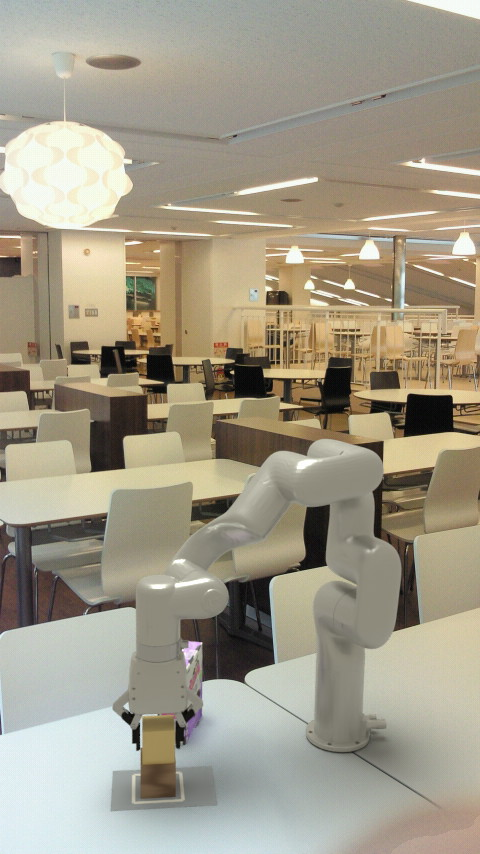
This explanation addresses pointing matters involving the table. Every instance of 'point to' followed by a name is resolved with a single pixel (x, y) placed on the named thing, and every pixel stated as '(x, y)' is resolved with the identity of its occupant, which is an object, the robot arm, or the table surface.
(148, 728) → the ochre block
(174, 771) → the walnut block
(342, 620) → the robot arm
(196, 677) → the candy box
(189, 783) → the board
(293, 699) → the table surface
